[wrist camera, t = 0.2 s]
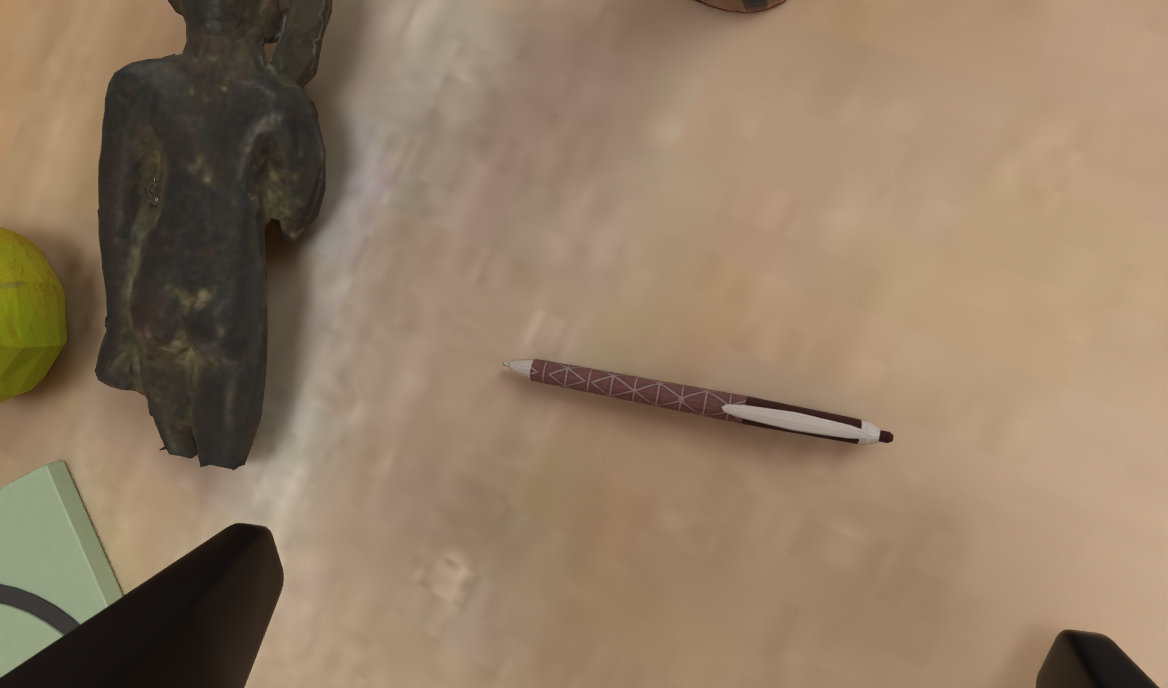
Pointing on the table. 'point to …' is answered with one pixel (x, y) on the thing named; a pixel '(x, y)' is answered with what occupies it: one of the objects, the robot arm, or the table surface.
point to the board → (47, 564)
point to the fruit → (27, 315)
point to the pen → (703, 402)
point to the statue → (206, 214)
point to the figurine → (743, 4)
